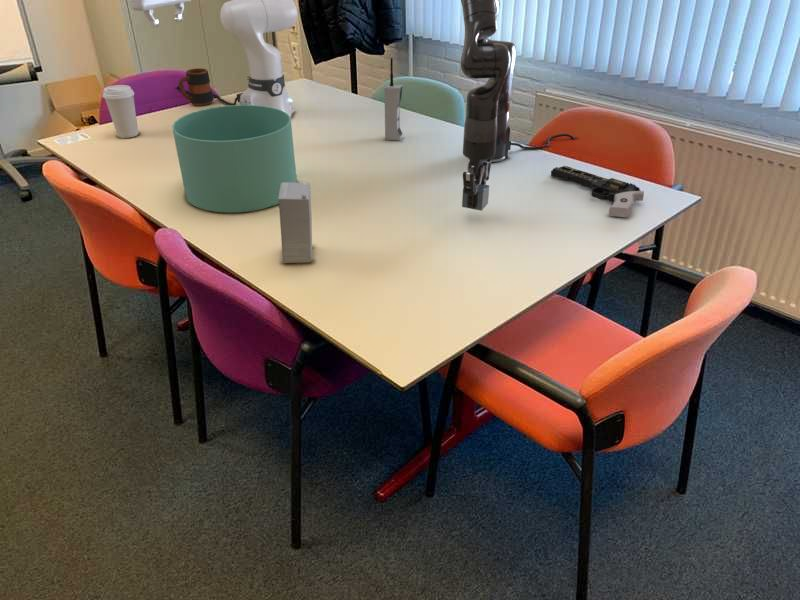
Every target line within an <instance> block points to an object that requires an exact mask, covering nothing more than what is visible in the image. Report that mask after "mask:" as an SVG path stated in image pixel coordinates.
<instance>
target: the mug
mask: <svg viewBox="0 0 800 600" xmlns="http://www.w3.org/2000/svg"><path fill="white" fill-rule="evenodd" d="M185 76H186V77H185ZM185 76H184V77H181V78H179V80H178V86H179V88H180V89H179V91H180V93H181V95H182V97H184V99H185V100H188V101H189V102H190V104H191V105H193V106H197V107H202V106H208V105H211V104H213V102H214V96H213V94H214V93H213V90H212V88H211V80H210V74H209V71H208V69H207V68H201V67H200V68H190V69H187V70H186V71H185ZM184 82H187V86H188V91H189V93H186V91H185V90H186V89H185V87H184Z"/></svg>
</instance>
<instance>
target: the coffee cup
mask: <svg viewBox="0 0 800 600" xmlns="http://www.w3.org/2000/svg"><path fill="white" fill-rule="evenodd" d="M134 96H135V91H134V90H133V89H132V87H131V86H130V85H126V84H117V85H109V86H106V87H104V88H103V91H102V98H103V99H104V101H105V103H106V106H107V109H108V112H109V115H110V117H111V121H112V123H113V126H114V129H115V132H116V135H117V137H118V138H120V139H121V138H122V139H128V138H133V137H137V136H138V135H139V128H138V120H137V119H138V118H137V113H136V105H135V98H134Z"/></svg>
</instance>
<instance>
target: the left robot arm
mask: <svg viewBox="0 0 800 600" xmlns="http://www.w3.org/2000/svg"><path fill="white" fill-rule="evenodd" d="M189 2H192V0H128V3H129V6H130V7H131V9H132V10H133V11H138V12H143V15H144V16H145V17H146V19H147V20H148V24H149V27H150V28H158V27H160V24H159V19H156V18H155V16H154V15H153V14H155V13H154V9H158V8H159V9H160V8H164V7H169V6H174V8H175V13H174V14H173V18H174V22H183V21H184V17H183V14H184V9H185V3H189ZM221 6H222V7H220V8H221V9H220V13H219V16H220V22H221V24H222V27H223V28H224V30H225V31H226V32H227V33H228V34H230V35H231V36H233V37H234V38H235V39H236V40H237V41H238V42H239V43H240V44H241V46H242V48H243V50H244V52H245V56H246V60H247V65H248V72H249V75H248V76H246V78H247V79H246V80H247V81H248V82H247V88H246V89H245V90H244V91H243V92H240V93H236V97H235V98H234V101H233V103H230V102H229V101H226V100H225V99H224V98H221V97H220V96H219V95H218V94H215V93H212V94H213V98H217V99H218V100H219V101H220V102H222V103H223V104H225V105H226V106H229V105H237V104H239V105H258V106H267V107H272V108H276V109H279V110H282V111H284V112H285V113H287V114H288V115H289V116H290V118H292V115H293V114H294V112H295V110H294V108H292V107H291V103H292V102H293V99H292V98H290V95H289V91H288V89H287V88H286V87H285V86H286V80H285V79H286V78H285V75H284V74H283V65H282V54H281V52H280V50H279V49H278V48H277V47H276V46H274V45H272V44H270V43H268V42H265V39H264V34H267V33H275V32H281V31H282V32H283V31H285V30H287V29H290V28H292V27H294V26H295V24H296V22H297V20H298V19H297V18H298V9H297V7H296V3H295V2H294V0H229V1H226V2H224V3H223V4H222V5H221ZM176 90H180V88H179V85H177V86H176ZM185 91H186V93H187V94H189V90H187V89H185Z"/></svg>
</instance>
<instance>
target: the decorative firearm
mask: <svg viewBox="0 0 800 600" xmlns="http://www.w3.org/2000/svg"><path fill="white" fill-rule="evenodd" d="M550 176H551V177H553V178H556V179H559V180H563V181H565V182H571V183H574V184H577V185H580V186H582V187H584V188H588V189H590V192H591V195H590V196H591V197H592V198H595V199H597V200H600V201H609V202H612V203H613V204H612V205H611V206H610V207H609V208H608V215H609V216H611V217H619V218H626V217H628V216H629V215H630V214H631V212H632V211H633V208H634V202H643V201H644V196H645V190H640V189H641V188H640V187H638V186H637V185H636V184H634V183H632V182H630V183H629V182H626V181H623V180H619V179H616V178H614V177H610V178H605V177H603V176H599V175H596V174H593V173H590V172H587V171H583V170H581V169H576V168H573V167H571V166H568V165H563V166H559V167H558V166H556V167H553V168H552V170H551V171H550Z"/></svg>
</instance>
